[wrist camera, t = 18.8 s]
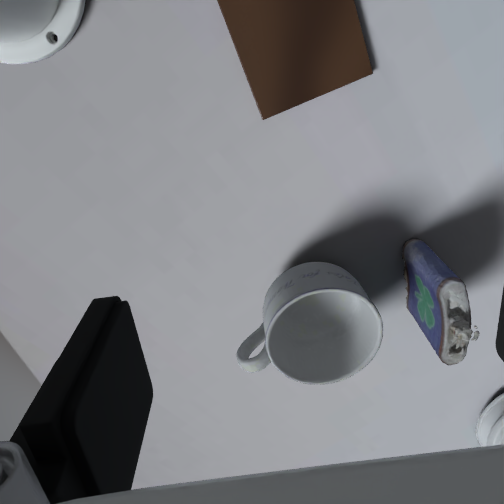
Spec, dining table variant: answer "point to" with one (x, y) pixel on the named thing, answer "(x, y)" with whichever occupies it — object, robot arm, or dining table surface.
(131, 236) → the dining table surface
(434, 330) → the dark blue piece
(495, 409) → the lid
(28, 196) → the dining table surface
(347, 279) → the teacup
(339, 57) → the board
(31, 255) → the dining table surface
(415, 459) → the robot arm
